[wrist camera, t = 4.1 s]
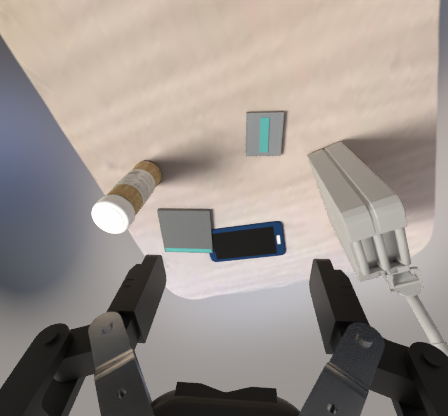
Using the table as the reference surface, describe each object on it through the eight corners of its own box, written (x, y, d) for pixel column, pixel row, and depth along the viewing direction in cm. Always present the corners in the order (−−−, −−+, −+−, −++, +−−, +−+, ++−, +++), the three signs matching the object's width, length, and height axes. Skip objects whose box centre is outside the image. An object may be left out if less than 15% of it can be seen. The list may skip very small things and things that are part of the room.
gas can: (364, 223, 43) (481, 393, 21) (333, 232, 44) (414, 401, 23) (341, 139, 36) (476, 261, 15) (306, 153, 38) (381, 284, 16)
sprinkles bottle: (137, 185, 43) (95, 234, 31) (132, 159, 40) (85, 201, 29) (164, 186, 42) (132, 236, 31) (160, 160, 40) (125, 202, 28)
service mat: (158, 208, 45) (157, 210, 44) (210, 209, 44) (209, 211, 43) (166, 249, 49) (165, 251, 49) (213, 250, 48) (212, 253, 48)
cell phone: (285, 252, 48) (286, 254, 47) (212, 260, 50) (211, 262, 49) (281, 219, 44) (282, 221, 43) (202, 229, 46) (202, 231, 46)
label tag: (246, 112, 35) (246, 113, 35) (283, 111, 35) (284, 112, 34) (246, 154, 38) (246, 156, 38) (280, 154, 38) (280, 156, 37)
